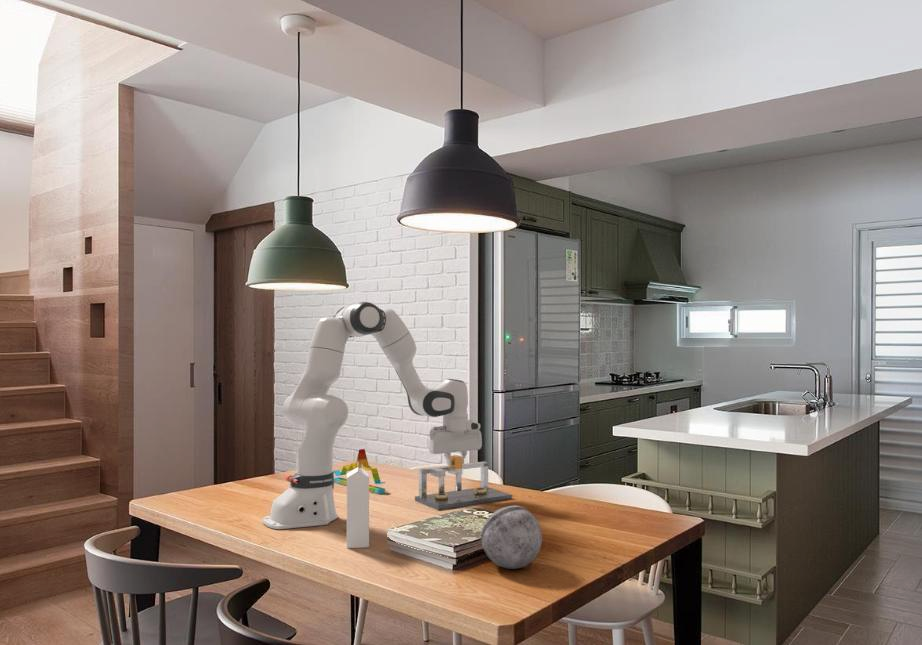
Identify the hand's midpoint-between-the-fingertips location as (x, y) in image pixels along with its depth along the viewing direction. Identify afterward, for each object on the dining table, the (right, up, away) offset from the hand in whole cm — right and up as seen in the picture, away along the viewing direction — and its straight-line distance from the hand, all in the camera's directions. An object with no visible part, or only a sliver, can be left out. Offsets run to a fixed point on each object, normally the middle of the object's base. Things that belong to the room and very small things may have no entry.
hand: (455, 464), depth 242 cm
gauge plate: (+3, -12, -1) cm, 12 cm away
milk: (-26, -11, -54) cm, 61 cm away
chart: (-38, -13, +20) cm, 44 cm away
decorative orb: (+14, -10, -73) cm, 75 cm away
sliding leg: (0, -9, 0) cm, 9 cm away
